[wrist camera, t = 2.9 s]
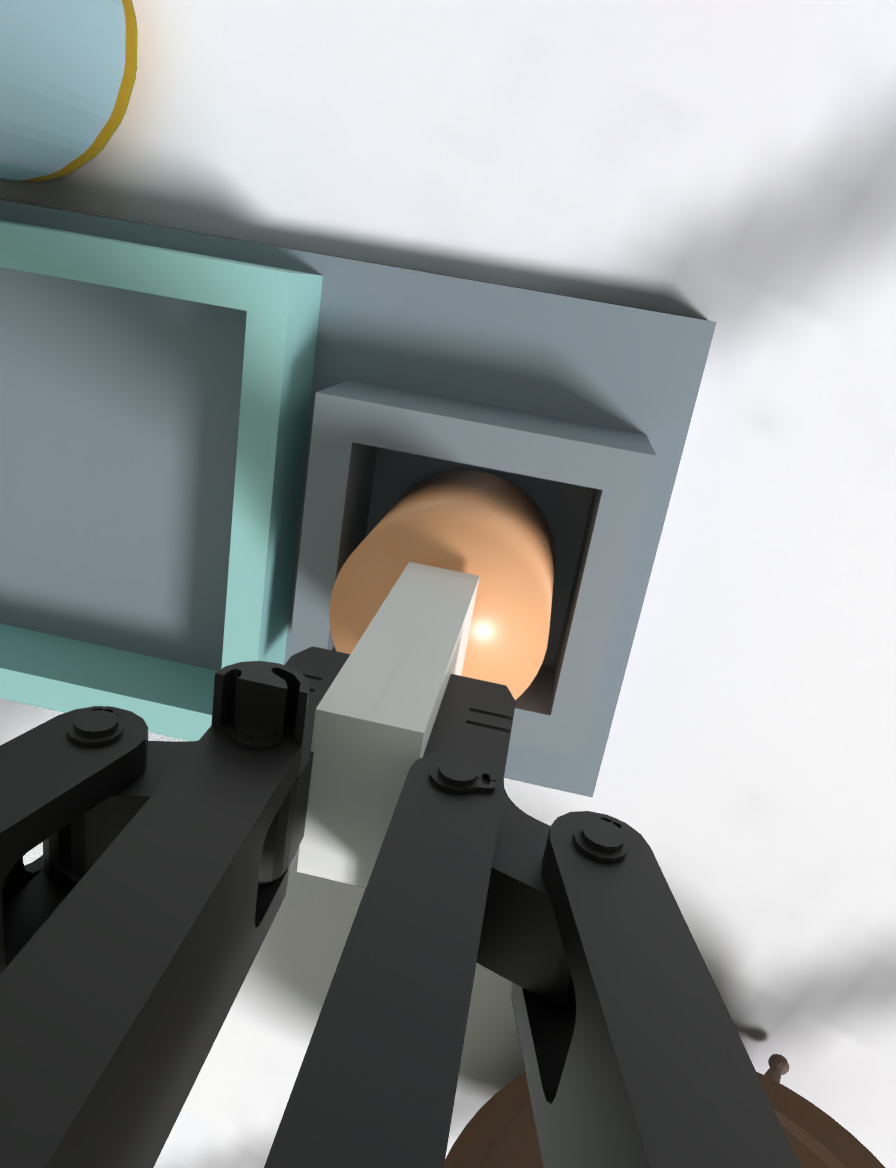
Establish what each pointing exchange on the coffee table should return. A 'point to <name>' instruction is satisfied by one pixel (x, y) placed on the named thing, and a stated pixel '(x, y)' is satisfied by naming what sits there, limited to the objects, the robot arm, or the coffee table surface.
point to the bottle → (62, 82)
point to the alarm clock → (513, 1158)
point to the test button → (462, 570)
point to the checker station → (305, 460)
